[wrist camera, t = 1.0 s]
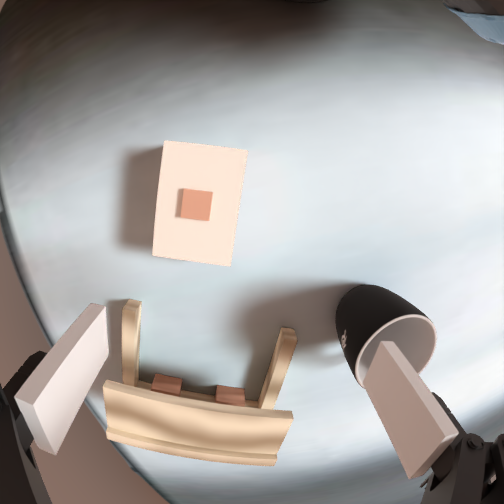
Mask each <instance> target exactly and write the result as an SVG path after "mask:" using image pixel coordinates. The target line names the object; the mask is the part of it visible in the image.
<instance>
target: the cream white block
mask: <svg viewBox="0 0 504 504" xmlns="http://www.w3.org/2000/svg"><path fill="white" fill-rule="evenodd" d="M247 154H248V150H242V149H235V148H227V147H220V146H212V145H204V144H195V143H185V142H175V141H164V147H163V154H162V161H161V168H160V176H159V185H158V194H157V203H156V214H155V225H154V238H153V253H152V256H158V257H165V258H172V259H179V260H187V261H194V262H201V263H208V264H216V265H223V266H231V259H232V253H233V246H234V239H235V232H236V225H237V219H238V212H239V205H240V199H241V192H242V186H243V180H244V173H245V167H246V161H247Z"/></svg>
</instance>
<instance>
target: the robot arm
mask: <svg viewBox="0 0 504 504" xmlns="http://www.w3.org/2000/svg"><path fill="white" fill-rule="evenodd" d="M287 1H294V2H321V1H326V0H287ZM442 1H443V2H444V5H445V6H446V7H447V8H448V9H449V10H450V11H452V12H454V13H456V14H457V15H458V16H459V17H460V18H461V19H462V20H463V21H464V22H465V23H466V24H468V25H469V26H470V27H471V28H472V29H473V30H474V31H475V32H476V33H477V34H478V35H479V36H481V37H482V38H484V39H486V40H488V41H491V42H494V43H500V44H503V45H504V0H442ZM108 355H109V348H108V337H107V322H106V306H103V305H98V304H94V303H91V304H90V305H89V306H88V307H87V308H86V309H85V310H84V311H83V312H82V314H81V315H80V316H79V317H78V318H77V319H76V320H75V322H74V323H73V324H72V325H71V326H70V327H69V329H68V330H67V331H66V332H65V333H64V334H63V336H62V337H61V338H60V339H59V340H58V342H57V343H56V344H55V345H54V346H53V348H52V349H51V350H50V351H49V352H48V353H44V352H42V351H38V352H37V353H35V354H33V355H31V356H30V357H29V358H28V359H27V360H26V361H25V363H24V364H23V366H21V367H20V369H19V370H18V372H16V373H15V374H14V376H13V377H12V378H11V379H10V381H9V382H8V383H7V384H6V386H5V387H4V388H3V389H2V387H1V384H0V504H52V502H51V500H50V497H49V495H48V492H47V490H46V488H45V485H44V483H43V480H42V477H41V475H40V472H39V469H38V466H37V463H36V460H35V458H34V455H33V451H32V449H31V447H30V445H31V443H32V441H33V439H34V440H35V442H36V444H37V446H38V448H40V449H42V450H44V451H47V452H49V453H51V454H54V455H56V454H57V452H58V450H59V448H60V446H61V443H62V441H63V440H64V438H65V435H66V433H67V431H68V429H69V427H70V425H71V423H72V422H73V419H74V417H75V416H76V414H77V411H78V410H79V408H80V406H81V404H82V402H83V400H84V398H85V397H86V395H87V393H88V391H89V389H90V387H91V386H92V384H93V382H94V380H95V378H96V376H97V375H98V373H99V371H100V369H101V368H102V366H103V364H104V362H105V360H106V359H107V357H108ZM363 385H364V387H365V389H366V391H367V393H368V395H369V397H370V399H371V401H372V403H373V405H374V407H375V409H376V411H377V413H378V415H379V417H380V419H381V421H382V423H383V425H384V427H385V429H386V432H387V434H388V436H389V438H390V440H391V442H392V444H393V446H394V448H395V450H396V452H397V454H398V457H399V459H400V461H401V463H402V465H403V467H404V469H405V472H406V474H407V476H408V478H409V479H411V478H415V477H419V476H422V475H424V474H425V473H426V471H427V470H428V469H429V468H430V467H431V468H432V470H433V473H432V474H431V475H430V476H429V477H428V478H427V479H426V480H425V481H424V482H423V483H422V484H421V486H420V487H421V488H422V487H423V486H424V485H425V484H426V483H427V486H426V488H425V492H424V495H423V498H422V501H421V504H504V434H501V435H499V436H498V437H497V439H496V440H495V441H494V442H484V440H483V439H482V438H481V437H480V436H478V435H476V434H472V433H470V434H466V432H465V431H464V430H463V428H462V427H461V425H460V424H459V422H458V421H457V420H456V418H455V417H454V415H453V414H451V411H450V410H449V408H447V406H446V404H445V403H444V401H443V400H442V399H441V398H440V397H439V396H438V395H436V394H435V393H434V392H430V390H429V389H428V387H427V386H426V385H425V383H424V382H423V381H422V379H421V378H420V376H419V375H418V374H417V372H416V371H415V370H414V368H413V367H412V366H411V364H410V363H409V362H408V360H407V359H406V358H405V356H404V355H403V354H402V352H401V351H400V350H399V348H398V347H397V346H396V345H395V343H394V342H393V341H381V342H380V344H379V347H378V349H377V351H376V354H375V356H374V358H373V361H372V363H371V365H370V367H369V370H368V372H367V374H366V376H365V378H364V380H363ZM495 474H496V480H495V481H494V482H493V483H491V481H490V479H491V478H492V477H493V476H494V475H495Z"/></svg>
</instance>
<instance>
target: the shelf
mask: <svg viewBox="0 0 504 504" xmlns="http://www.w3.org/2000/svg"><path fill="white" fill-rule="evenodd" d="M141 305H142V302H141V301H136V300H132V299H129V300H128V301H127V303H126V304H125V306H124V307H123V309H122V376H123V384H121V383H118V382H114V381H111V380H107V379H106V381H105V383H104V385H103V393H104V402H105V409H106V417H107V423H108V428H107V430H106V434H107V439H109V440H113V441H116V442H120V443H123V444H127V445H131V446H135V447H138V448H143V449H147V450H151V451H155V452H160V453H165V454H170V455H175V456H181V457H186V458H193V459H199V460H206V461H214V462H222V463H232V464H244V465H259V466H274V465H275V463H276V461H277V452H278V450H279V448H280V446H281V444H282V442H283V440H284V438H285V436H286V434H287V432H288V430H289V428H290V426H291V423H292V421H293V414H292V411H283V410H273V408H274V405H275V402H276V400H277V397H278V395H279V392H280V389H281V386H282V384H283V381H284V378H285V376H286V373H287V370H288V367H289V364H290V361H291V359H292V356H293V353H294V350H295V347H296V344H297V341H298V340H297V337H296V334H295V331H294V329H290V328H283V327H281V330H280V333H279V336H278V340H277V343H276V346H275V349H274V353H273V356H272V359H271V362H270V365H269V369H268V372H267V375H266V378H265V381H264V384H263V387H262V390H261V393H260V396H259V399H258V401H252V400H245V392H244V389H242V388H234V387H227V386H221V385H217V389H216V394H215V396H214V395H208V394H202V393H196V392H190V391H185V390H181V387H182V379H180V378H175V377H170V376H166V375H161V374H155V377H154V380H153V383H152V384H151V383H147V382H143V381H139V344H140V321H141Z"/></svg>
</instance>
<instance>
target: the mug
mask: <svg viewBox="0 0 504 504" xmlns="http://www.w3.org/2000/svg"><path fill="white" fill-rule="evenodd" d="M336 329H337V333H338V337H339V341H340V344H341V347H342V349H343V352H344V355H345V357H346V360H347V362H348V364H349V367H350V369H351V371H352V373H353V375H354V377H355V379H356V380H357V382H358V383H359V384H360V386H361V387H363V388H364V389H365V387H364V385H363V380H364V378H365V376H366V374H367V372H368V370H369V367H370V365H371V363H372V361H373V358H374V356H375V354H376V351H377V349H378V347H379V344H380V342H381V341H393V342H394V343H395V345H396V346H397V347H398V348H399V350H400V351H401V352H402V354H403V355H404V356H405V358H406V359H407V360H408V362H409V363H410V364H411V366H412V367H413V368H414V370H415V371H416V372H417V374H418V375H419V374H420V373H421V372H422V371H423V369H424V368H425V367H426V366H427V364H428V363H429V361H430V359H431V357H432V355H433V353H434V350H435V347H436V341H437V334H436V329H435V326H434V324H433V323H432V321H431V320H430V319H429V318H428V317H427V316H426V315H425V314H424V313H422V312H421V311H420V310H419V309H417V308H416V307H415V306H413V305H412V304H411V303H409V302H408V301H406V300H405V299H403V298H402V297H400V296H399V295H397V294H395V293H393V292H391V291H389V290H387V289H385V288H383V287H380V286H376V285H362V286H359V287H356V288H354V289H352V290H351V291H349V292H348V293H347V294H346V295H345V296H344V297H343V298H342V300H341V301H340V303H339V305H338V308H337V311H336Z"/></svg>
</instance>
